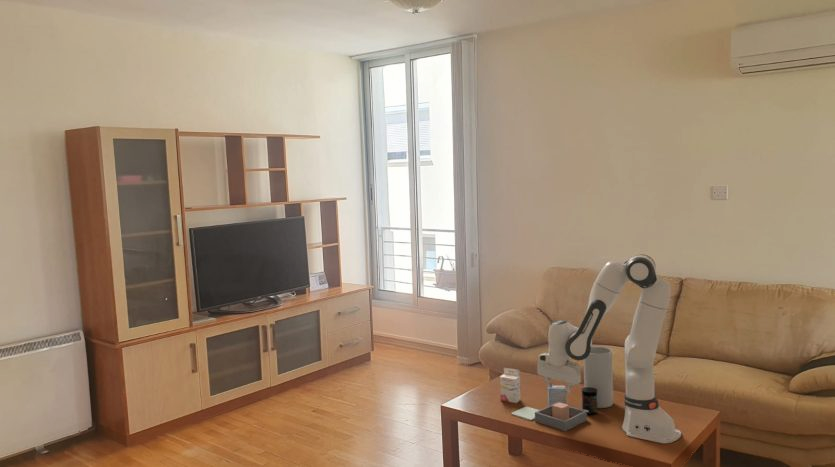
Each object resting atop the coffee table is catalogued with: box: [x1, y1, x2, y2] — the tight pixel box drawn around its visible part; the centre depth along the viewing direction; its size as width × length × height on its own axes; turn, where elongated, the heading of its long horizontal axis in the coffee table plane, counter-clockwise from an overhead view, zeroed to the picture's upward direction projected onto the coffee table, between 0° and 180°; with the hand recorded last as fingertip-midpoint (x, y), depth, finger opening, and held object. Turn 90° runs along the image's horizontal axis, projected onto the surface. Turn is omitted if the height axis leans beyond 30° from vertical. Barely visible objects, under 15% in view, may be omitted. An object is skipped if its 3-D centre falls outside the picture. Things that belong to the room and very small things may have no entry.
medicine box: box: [547, 385, 567, 406], centre depth 283 cm, size 8×4×9 cm, turn 84°
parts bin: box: [534, 403, 588, 432], centre depth 265 cm, size 16×16×4 cm
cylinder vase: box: [583, 346, 614, 409], centre depth 282 cm, size 12×12×25 cm
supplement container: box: [581, 387, 599, 416], centre depth 272 cm, size 7×7×10 cm
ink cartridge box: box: [499, 367, 521, 404], centre depth 292 cm, size 9×5×15 cm, turn 58°
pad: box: [510, 406, 540, 422], centre depth 274 cm, size 11×11×1 cm
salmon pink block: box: [551, 402, 570, 421], centre depth 265 cm, size 5×5×7 cm
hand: (558, 389), depth 264 cm, fingers open, 8 cm apart
